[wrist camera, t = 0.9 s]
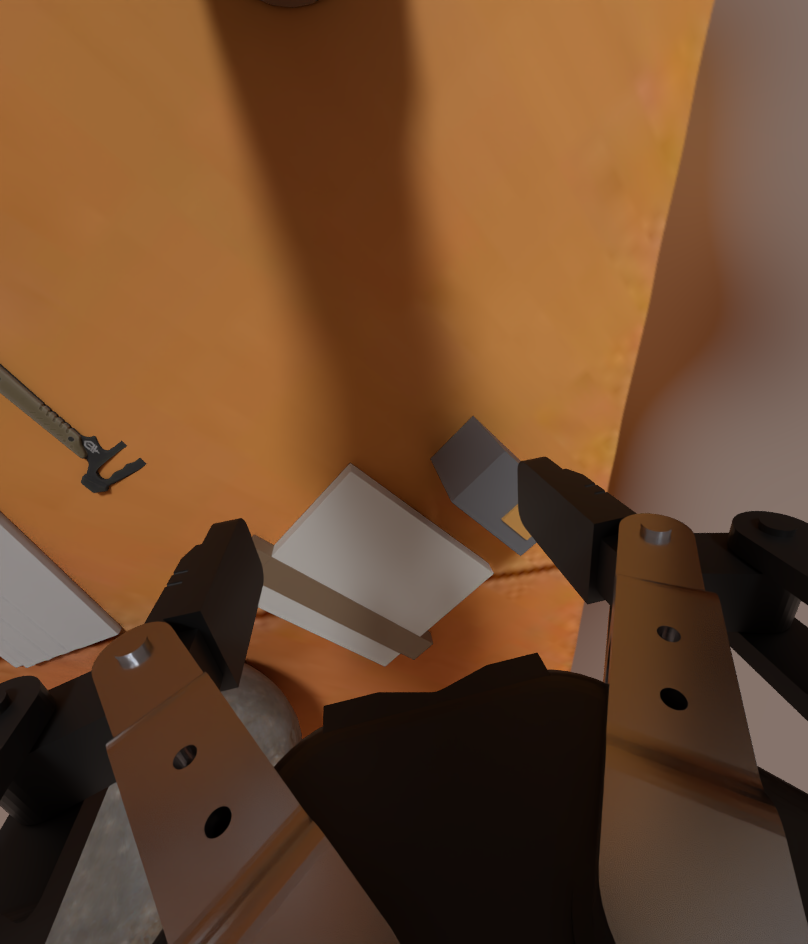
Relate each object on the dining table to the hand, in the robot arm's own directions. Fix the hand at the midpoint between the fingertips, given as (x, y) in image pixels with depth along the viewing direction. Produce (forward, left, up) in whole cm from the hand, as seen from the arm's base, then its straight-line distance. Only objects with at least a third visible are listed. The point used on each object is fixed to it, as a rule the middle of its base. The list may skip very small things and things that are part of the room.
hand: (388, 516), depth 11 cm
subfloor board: (+14, +14, -20) cm, 28 cm away
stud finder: (-1, +14, -20) cm, 24 cm away
